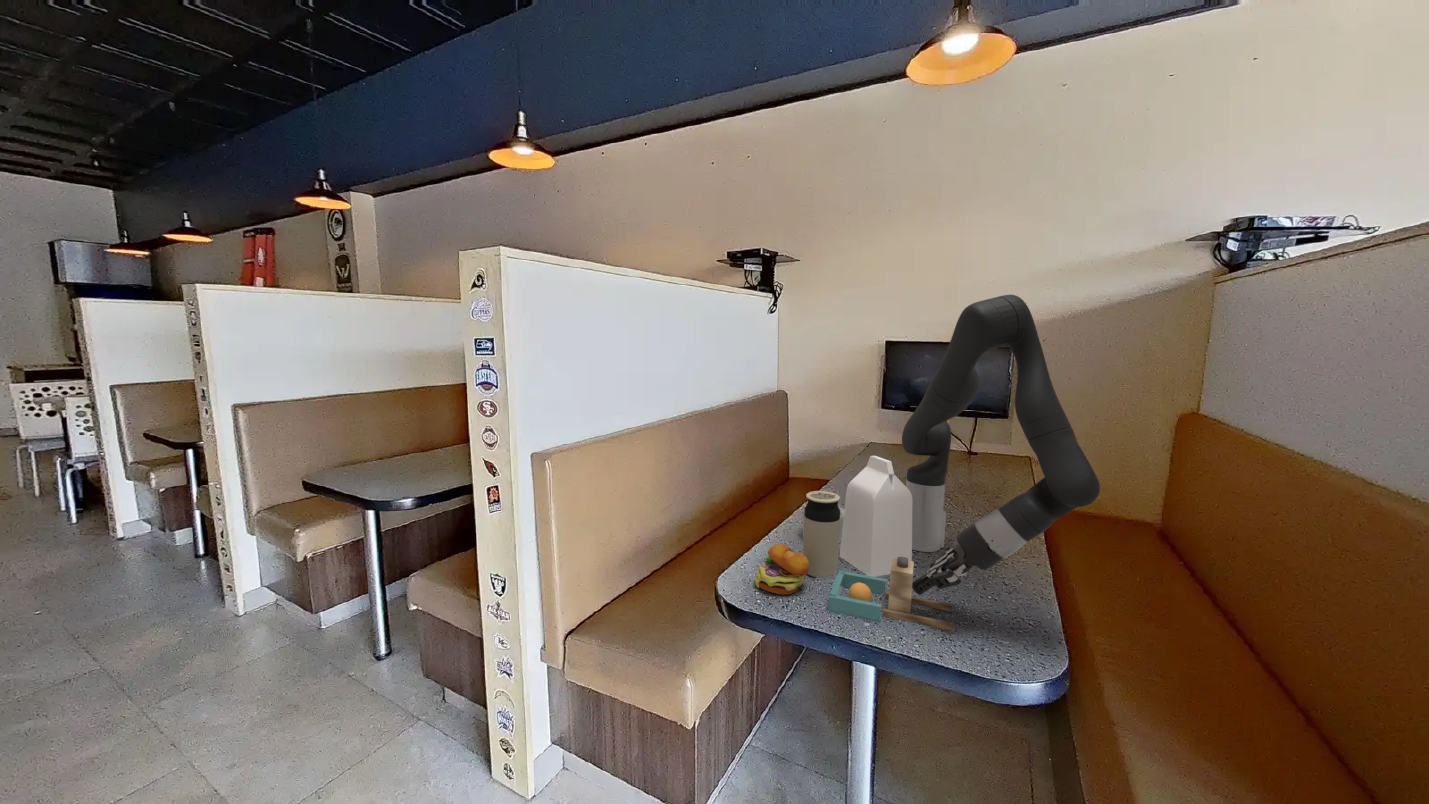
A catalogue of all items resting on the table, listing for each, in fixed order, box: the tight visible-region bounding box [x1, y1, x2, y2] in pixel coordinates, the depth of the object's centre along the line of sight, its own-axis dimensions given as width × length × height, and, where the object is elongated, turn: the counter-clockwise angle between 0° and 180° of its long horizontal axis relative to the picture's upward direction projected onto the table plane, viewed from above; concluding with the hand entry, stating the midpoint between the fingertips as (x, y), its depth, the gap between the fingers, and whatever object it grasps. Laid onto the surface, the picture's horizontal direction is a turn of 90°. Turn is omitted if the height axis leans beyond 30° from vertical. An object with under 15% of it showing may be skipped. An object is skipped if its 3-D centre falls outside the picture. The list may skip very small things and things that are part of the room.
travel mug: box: [802, 490, 841, 578], centre depth 118 cm, size 8×8×18 cm
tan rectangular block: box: [887, 557, 915, 614], centre depth 101 cm, size 4×6×10 cm, turn 158°
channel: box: [882, 591, 955, 632], centre depth 101 cm, size 12×8×1 cm, turn 68°
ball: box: [848, 583, 872, 602], centre depth 105 cm, size 4×4×4 cm
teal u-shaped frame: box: [827, 570, 887, 622], centre depth 105 cm, size 10×12×4 cm
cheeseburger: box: [754, 543, 809, 595], centre depth 112 cm, size 10×11×10 cm
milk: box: [839, 455, 913, 578], centre depth 121 cm, size 12×12×26 cm
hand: (915, 589), depth 101 cm, fingers closed
